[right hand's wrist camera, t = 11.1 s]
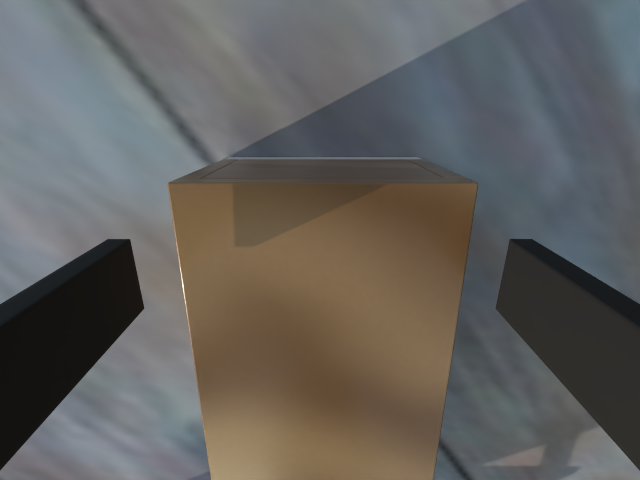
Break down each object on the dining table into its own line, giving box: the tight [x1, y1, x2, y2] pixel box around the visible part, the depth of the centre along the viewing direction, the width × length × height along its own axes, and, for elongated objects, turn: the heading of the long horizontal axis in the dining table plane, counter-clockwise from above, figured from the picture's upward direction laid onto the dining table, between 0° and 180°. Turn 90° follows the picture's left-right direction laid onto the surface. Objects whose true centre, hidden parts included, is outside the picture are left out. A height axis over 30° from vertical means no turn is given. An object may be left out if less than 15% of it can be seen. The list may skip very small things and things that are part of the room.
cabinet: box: [168, 157, 478, 480], centre depth 20 cm, size 20×11×8 cm, turn 0°
